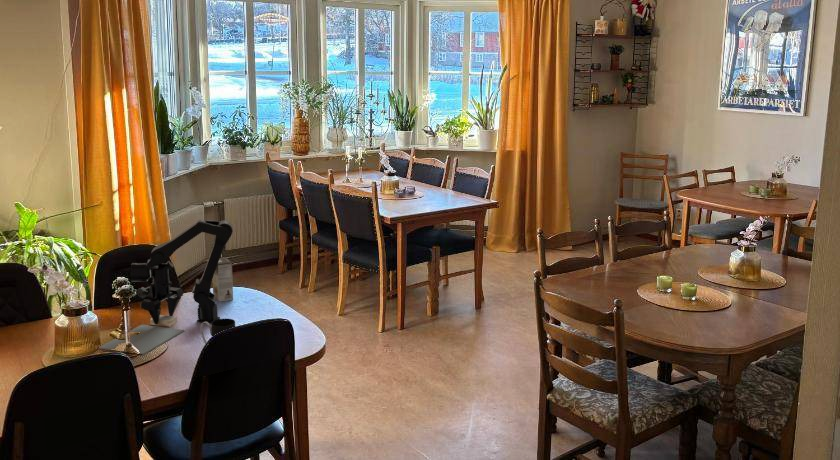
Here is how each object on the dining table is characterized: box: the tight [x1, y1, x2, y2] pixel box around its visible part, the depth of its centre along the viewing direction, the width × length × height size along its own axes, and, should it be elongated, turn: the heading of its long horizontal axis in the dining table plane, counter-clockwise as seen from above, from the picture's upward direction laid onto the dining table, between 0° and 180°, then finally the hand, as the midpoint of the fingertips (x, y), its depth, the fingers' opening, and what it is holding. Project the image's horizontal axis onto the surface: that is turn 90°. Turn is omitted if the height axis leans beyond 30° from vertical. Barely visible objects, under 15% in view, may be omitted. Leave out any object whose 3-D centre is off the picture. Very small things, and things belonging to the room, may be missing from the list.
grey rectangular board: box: [98, 324, 185, 356], centre depth 274 cm, size 18×24×1 cm
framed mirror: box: [149, 314, 178, 327], centre depth 290 cm, size 8×5×3 cm, turn 77°
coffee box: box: [212, 256, 234, 302], centre depth 319 cm, size 9×6×16 cm
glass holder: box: [199, 318, 236, 345], centre depth 252 cm, size 9×14×15 cm, turn 61°
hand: (163, 320), depth 290 cm, fingers open, 9 cm apart
